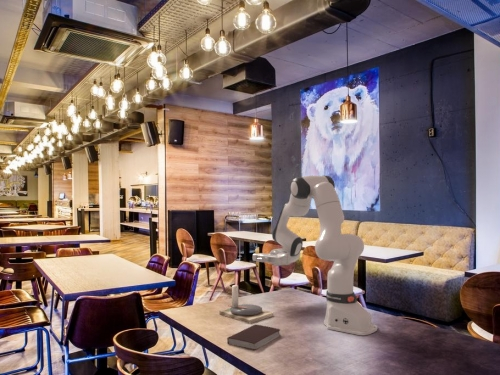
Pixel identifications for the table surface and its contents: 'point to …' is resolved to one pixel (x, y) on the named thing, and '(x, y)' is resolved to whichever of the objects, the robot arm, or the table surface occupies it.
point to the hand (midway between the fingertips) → (259, 260)
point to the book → (254, 337)
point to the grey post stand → (244, 308)
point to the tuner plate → (247, 316)
